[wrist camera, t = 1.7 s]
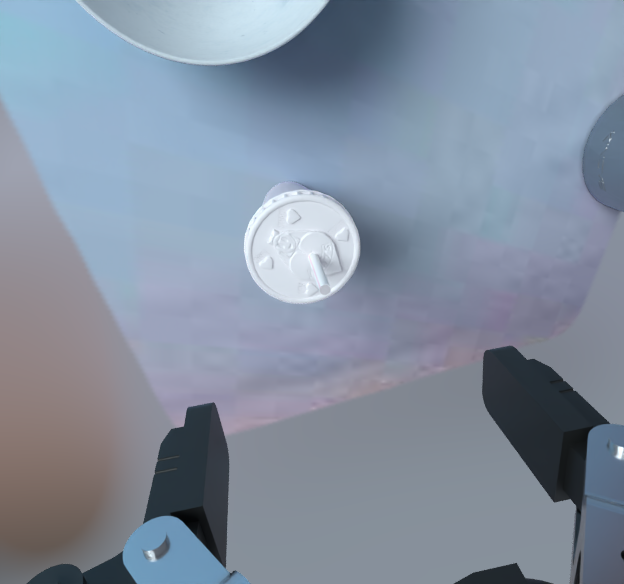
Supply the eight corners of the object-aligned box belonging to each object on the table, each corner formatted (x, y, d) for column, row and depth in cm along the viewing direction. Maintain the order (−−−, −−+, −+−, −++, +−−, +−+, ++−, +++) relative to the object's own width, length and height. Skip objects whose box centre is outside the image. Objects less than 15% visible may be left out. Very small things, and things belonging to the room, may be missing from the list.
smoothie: (306, 261, 36) (339, 363, 23) (229, 225, 34) (219, 315, 21) (348, 188, 34) (409, 254, 21) (269, 144, 32) (284, 190, 19)
